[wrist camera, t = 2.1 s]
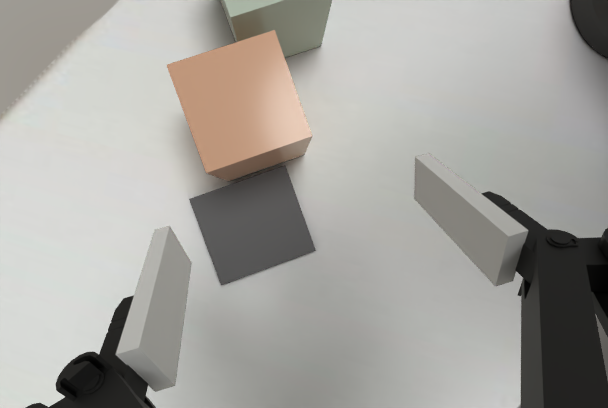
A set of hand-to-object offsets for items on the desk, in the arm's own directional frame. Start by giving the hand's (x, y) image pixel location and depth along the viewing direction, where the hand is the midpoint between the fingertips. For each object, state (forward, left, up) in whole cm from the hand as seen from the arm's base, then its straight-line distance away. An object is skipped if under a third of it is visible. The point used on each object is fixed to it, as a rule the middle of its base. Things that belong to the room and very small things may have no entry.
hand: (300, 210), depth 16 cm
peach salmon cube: (+1, -9, -19) cm, 21 cm away
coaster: (+5, +1, -19) cm, 19 cm away
